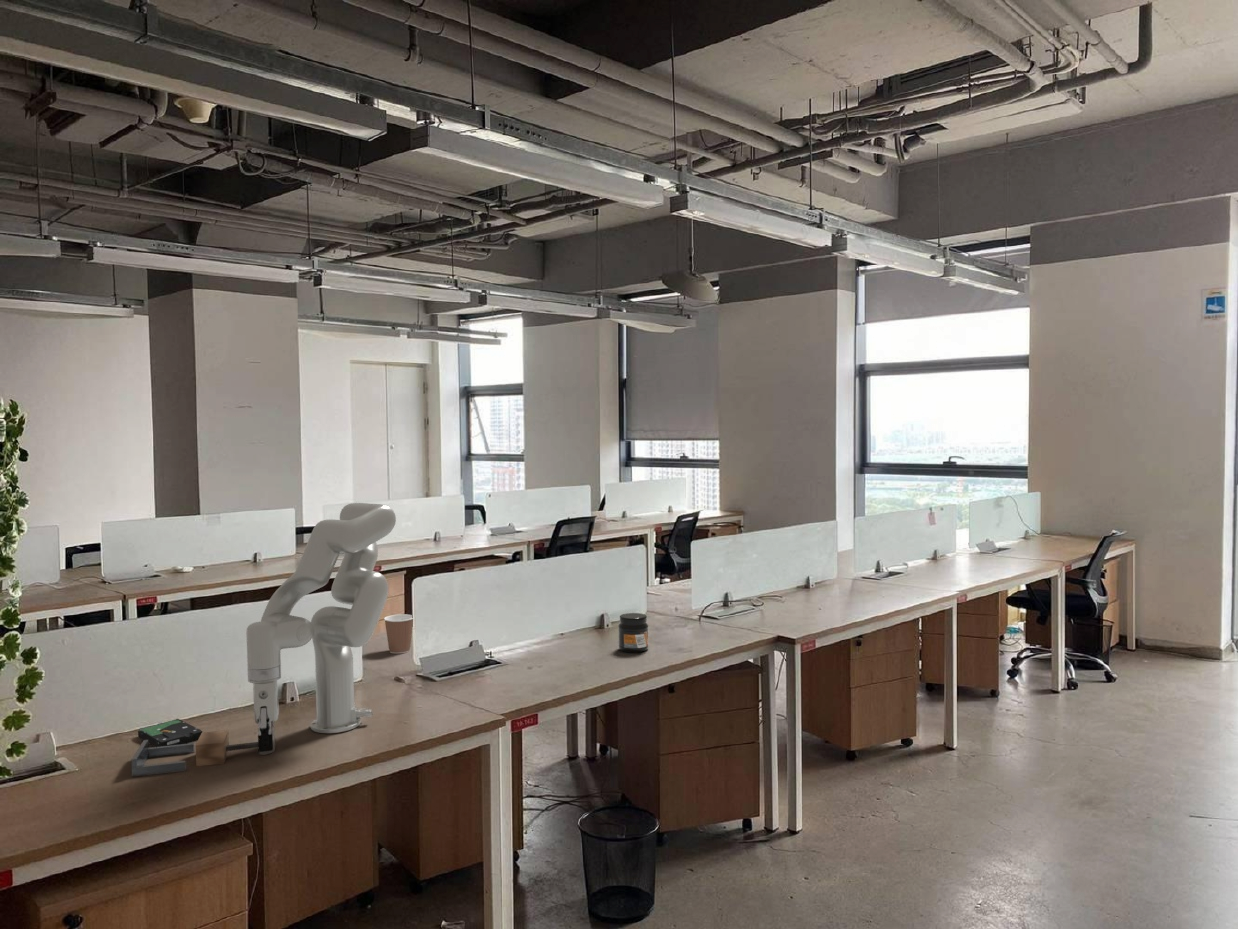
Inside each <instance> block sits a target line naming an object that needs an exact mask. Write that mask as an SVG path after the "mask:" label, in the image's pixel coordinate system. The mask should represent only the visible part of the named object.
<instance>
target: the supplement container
mask: <svg viewBox="0 0 1238 929" xmlns="http://www.w3.org/2000/svg"><path fill="white" fill-rule="evenodd" d="M647 622H648V616H647V614H644V613H640V612H627V613H622V614H620V615H619V623H618V625H617V626H618V627H617V628H618V649H619V650H620V651H621V652H625V653H629V654H630V653H631V654H636V653H637V654H638V653H643V652H646V651H647V650H648V648H649V624H648V623H647Z"/></svg>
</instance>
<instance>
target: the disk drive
mask: <svg viewBox="0 0 1238 929" xmlns="http://www.w3.org/2000/svg"><path fill="white" fill-rule="evenodd" d="M201 733H203V730H201V729H200V728H197V727H195V726H193V725H191V724H189V723H188V722H185V721H184V720H181V719H179V718H176V719H172V720H168V721H164V722H159V723H156V724H154V725H150V726H147V727H140V728H139V730H137V737H138V739H139V738H140V739H141V740H142V741H144V740H148V743H149V745H151V746H153V747H161V746H171V745H180V744H186V743H187V744H189V743H195V742H197V741H198V739H199V737H200V735H201Z"/></svg>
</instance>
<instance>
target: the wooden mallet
mask: <svg viewBox="0 0 1238 929" xmlns="http://www.w3.org/2000/svg"><path fill="white" fill-rule="evenodd" d="M267 726H268V727H269V725H267ZM229 734H230V733H229V729H224V730H215V731H214V730H213V731H206V732H202V733H201V735H200V737H199V739H198V741H196V744H195V764H196V767H202V766H212V765H221V764H225V762H226V759H227V758H228V757H227V756H228V754H229V752H230V751H238V750H239V751H240V750H249V749H257V748H258V741H253V742H245V743H236V744H230V737H229V736H230V735H229ZM271 734H273V750H272V751H265V752H259V751H258V754H259V755H263V756H264V755H270V754H273V753H274V752H275V751H276V750H275V749H276V748H275V747H276V745H275V744H276V743H275V726H274V724H273V725H271ZM258 735H259V727H258V728H257V736H258Z"/></svg>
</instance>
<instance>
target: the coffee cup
mask: <svg viewBox="0 0 1238 929" xmlns="http://www.w3.org/2000/svg"><path fill="white" fill-rule="evenodd" d="M383 620H384V624H385V632H386V638H387V644H388V649H389V650H388V651H389V653H390V654H395V655H396V654H397V655H400V654H406V653H409V652H411V647H412V637H413V636H412V635H413V627H414V626H413V625H414V618H412V614H403V613H399V614H392V615H387V616H385V617H384V618H383ZM412 626H413V627H412Z"/></svg>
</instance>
